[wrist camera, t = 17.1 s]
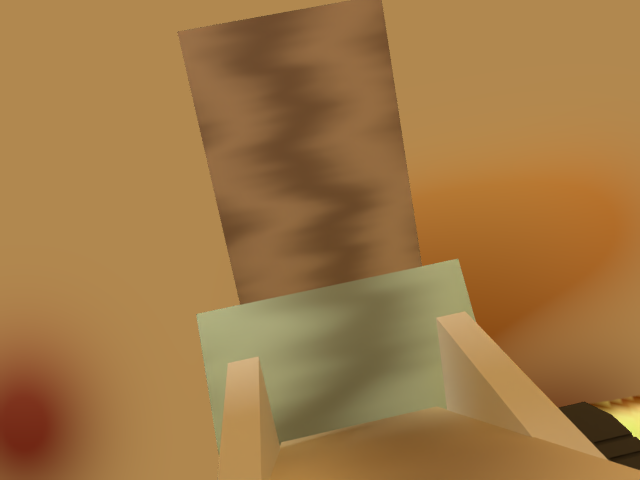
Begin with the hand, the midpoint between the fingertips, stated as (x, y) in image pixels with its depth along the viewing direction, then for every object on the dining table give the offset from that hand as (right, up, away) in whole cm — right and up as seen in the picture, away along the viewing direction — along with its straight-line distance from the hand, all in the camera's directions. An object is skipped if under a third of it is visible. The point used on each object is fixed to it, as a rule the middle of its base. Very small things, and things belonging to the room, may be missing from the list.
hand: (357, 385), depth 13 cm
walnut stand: (+2, -14, +21) cm, 26 cm away
